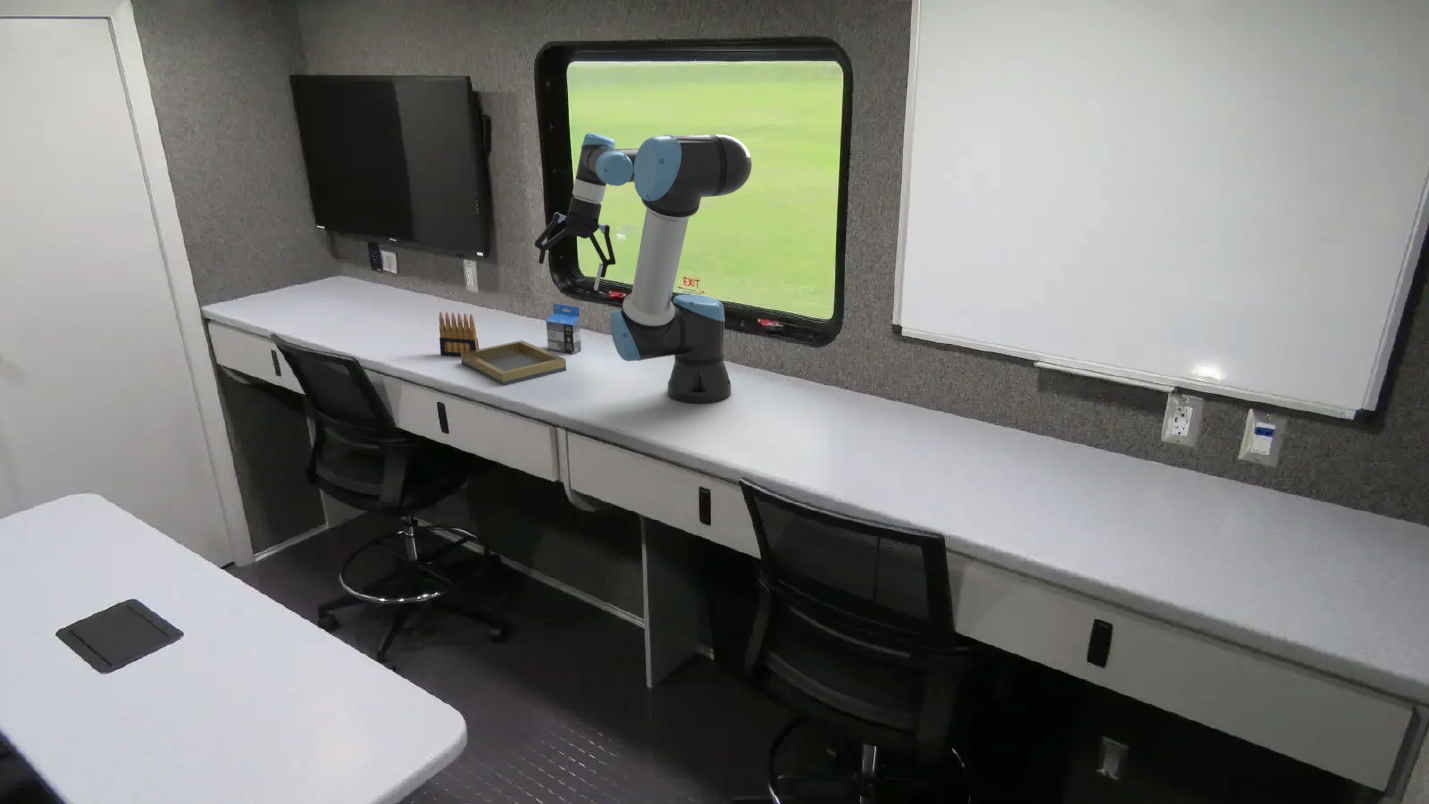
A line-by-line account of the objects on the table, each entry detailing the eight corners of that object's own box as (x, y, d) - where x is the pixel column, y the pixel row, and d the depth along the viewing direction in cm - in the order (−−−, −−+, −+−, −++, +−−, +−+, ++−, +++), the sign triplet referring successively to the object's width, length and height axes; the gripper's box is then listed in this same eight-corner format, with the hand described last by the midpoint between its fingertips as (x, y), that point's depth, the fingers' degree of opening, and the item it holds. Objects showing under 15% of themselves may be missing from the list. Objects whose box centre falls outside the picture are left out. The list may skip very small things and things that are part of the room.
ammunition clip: (480, 356, 229) (476, 313, 225) (476, 358, 228) (472, 314, 223) (443, 353, 232) (439, 310, 227) (440, 355, 230) (435, 312, 226)
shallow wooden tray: (566, 370, 219) (565, 359, 218) (503, 385, 208) (502, 374, 206) (522, 350, 234) (521, 340, 233) (461, 364, 223) (460, 353, 222)
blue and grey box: (547, 350, 235) (544, 306, 231) (555, 346, 238) (552, 303, 234) (574, 354, 231) (571, 310, 227) (582, 350, 235) (579, 307, 230)
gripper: (635, 209, 214) (616, 290, 220) (536, 185, 208) (519, 268, 214) (638, 213, 207) (618, 297, 214) (535, 188, 201) (518, 275, 207)
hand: (568, 283), depth 214 cm, fingers open, 13 cm apart
